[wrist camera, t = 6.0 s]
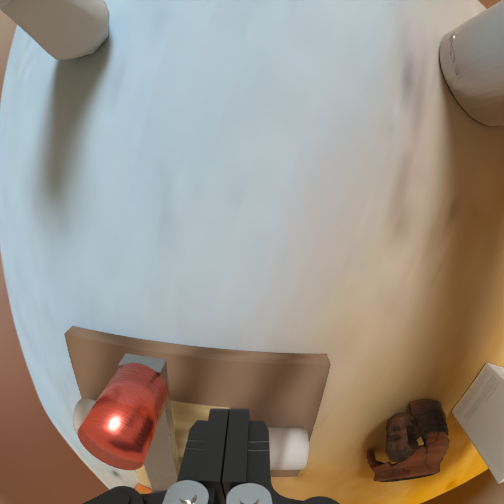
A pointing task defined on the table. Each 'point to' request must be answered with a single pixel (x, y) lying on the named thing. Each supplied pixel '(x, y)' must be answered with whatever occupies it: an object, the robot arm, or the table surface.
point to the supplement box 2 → (485, 417)
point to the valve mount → (214, 388)
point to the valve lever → (135, 422)
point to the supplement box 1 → (142, 489)
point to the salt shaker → (62, 24)
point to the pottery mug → (413, 443)
